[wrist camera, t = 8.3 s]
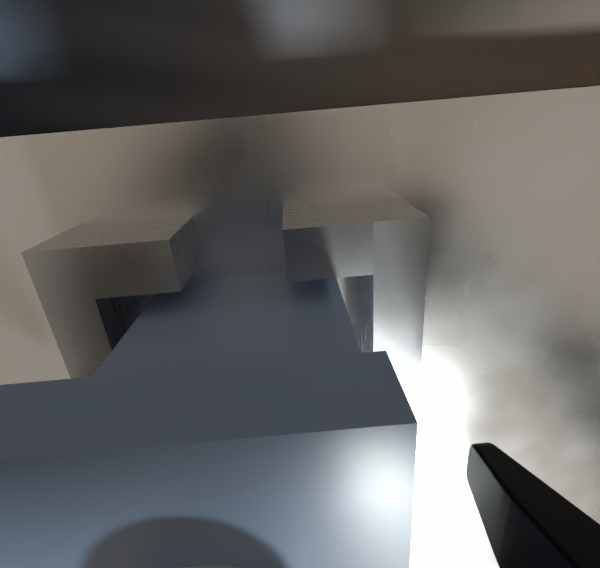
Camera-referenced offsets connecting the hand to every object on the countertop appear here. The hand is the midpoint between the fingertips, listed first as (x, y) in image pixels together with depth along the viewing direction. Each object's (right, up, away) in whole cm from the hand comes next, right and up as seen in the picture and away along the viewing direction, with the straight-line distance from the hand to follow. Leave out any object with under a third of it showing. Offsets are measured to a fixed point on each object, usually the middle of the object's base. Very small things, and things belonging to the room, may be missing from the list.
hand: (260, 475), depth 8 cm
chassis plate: (+3, +1, +4) cm, 5 cm away
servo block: (0, +1, +2) cm, 3 cm away
